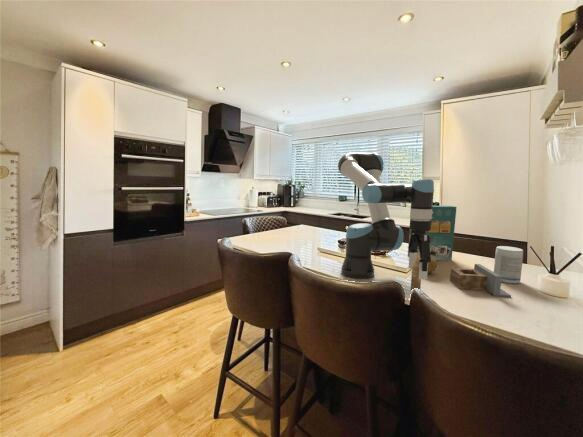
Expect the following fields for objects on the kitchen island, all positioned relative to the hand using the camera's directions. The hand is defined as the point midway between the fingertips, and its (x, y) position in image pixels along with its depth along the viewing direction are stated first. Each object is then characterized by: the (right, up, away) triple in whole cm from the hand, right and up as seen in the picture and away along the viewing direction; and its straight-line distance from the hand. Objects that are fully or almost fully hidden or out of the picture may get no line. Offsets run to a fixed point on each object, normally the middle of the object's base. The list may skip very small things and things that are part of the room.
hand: (417, 273), depth 108 cm
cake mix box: (+29, -1, +49) cm, 57 cm away
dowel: (0, -7, +1) cm, 8 cm away
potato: (+15, -5, +25) cm, 29 cm away
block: (+25, -7, +8) cm, 27 cm away
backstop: (+32, -7, +5) cm, 33 cm away
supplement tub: (+46, -6, +14) cm, 49 cm away
